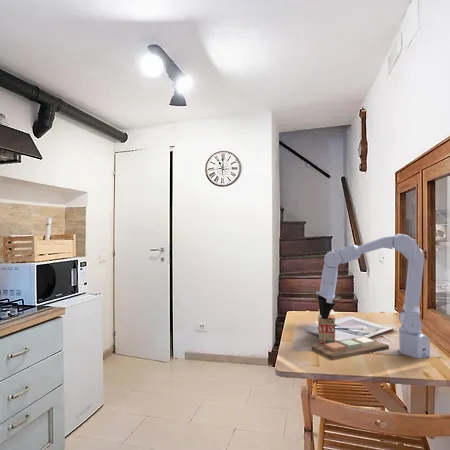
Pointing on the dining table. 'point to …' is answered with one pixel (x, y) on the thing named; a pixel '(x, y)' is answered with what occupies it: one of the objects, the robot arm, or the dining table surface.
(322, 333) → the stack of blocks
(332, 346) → the terracotta tile
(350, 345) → the sage tile
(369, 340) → the cream tile
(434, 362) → the dining table surface
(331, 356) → the tap panel
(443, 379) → the dining table surface
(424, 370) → the dining table surface
